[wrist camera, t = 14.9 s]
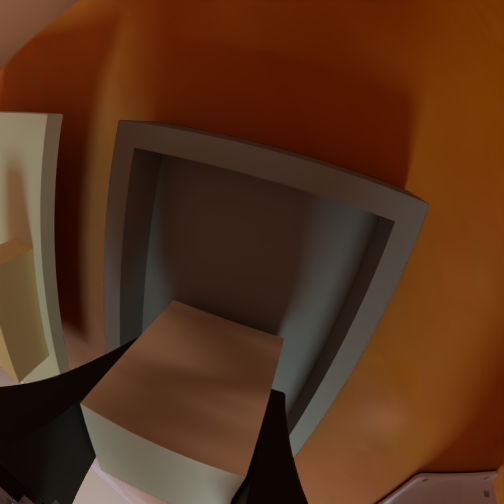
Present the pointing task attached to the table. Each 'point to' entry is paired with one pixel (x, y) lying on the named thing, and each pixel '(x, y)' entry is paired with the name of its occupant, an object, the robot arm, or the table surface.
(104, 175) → the table surface
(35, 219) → the lid
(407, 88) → the table surface
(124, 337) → the grey storage tray
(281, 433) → the robot arm
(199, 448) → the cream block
